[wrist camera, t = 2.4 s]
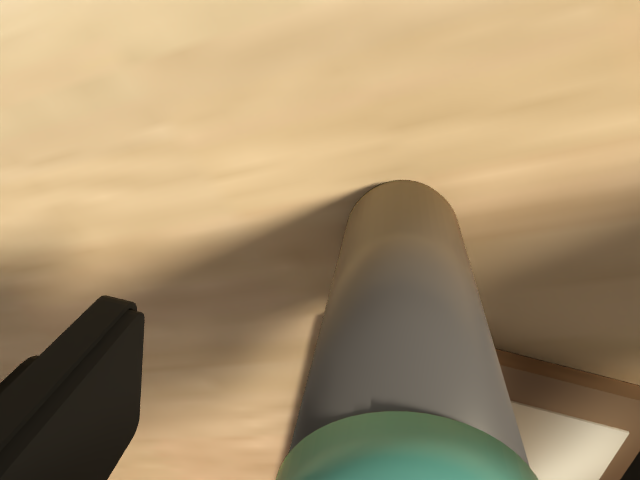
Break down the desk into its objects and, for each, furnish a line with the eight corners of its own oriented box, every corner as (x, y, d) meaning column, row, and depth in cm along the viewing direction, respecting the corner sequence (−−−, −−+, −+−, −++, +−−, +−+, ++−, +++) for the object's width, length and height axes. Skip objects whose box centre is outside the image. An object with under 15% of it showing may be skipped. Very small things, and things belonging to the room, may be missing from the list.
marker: (476, 190, 17) (649, 569, 5) (440, 291, 19) (508, 740, 7) (359, 162, 17) (275, 468, 5) (334, 264, 19) (230, 659, 7)
